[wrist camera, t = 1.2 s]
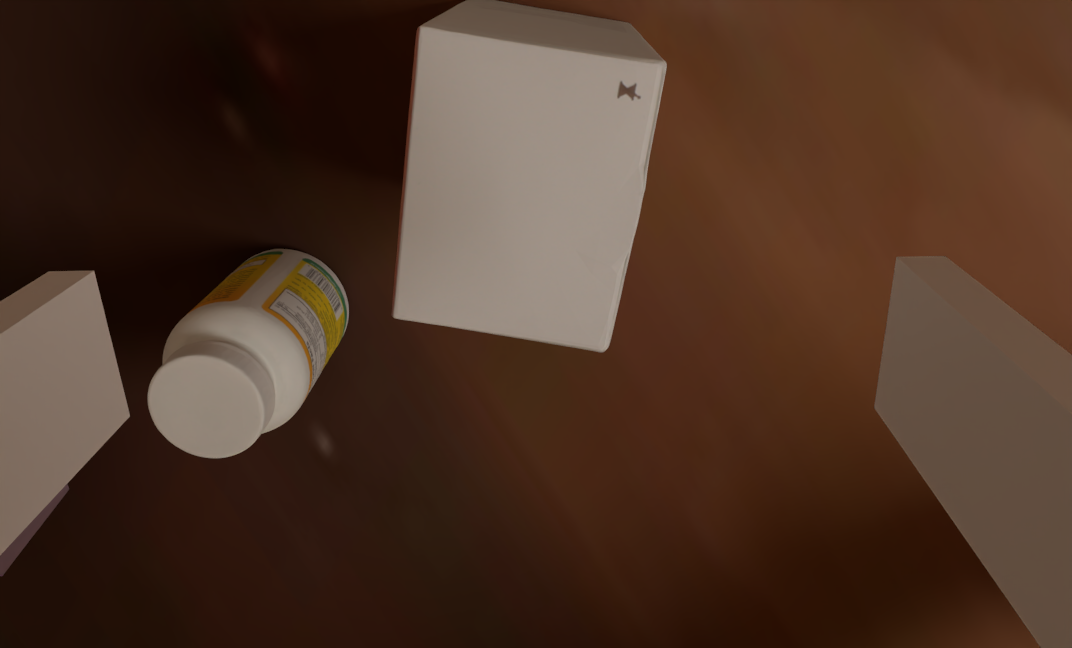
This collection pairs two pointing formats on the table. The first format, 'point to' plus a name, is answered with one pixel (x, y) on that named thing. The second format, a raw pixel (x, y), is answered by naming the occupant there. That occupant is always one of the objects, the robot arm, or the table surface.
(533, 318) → the small box
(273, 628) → the table surface
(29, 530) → the flask
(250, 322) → the supplement bottle
